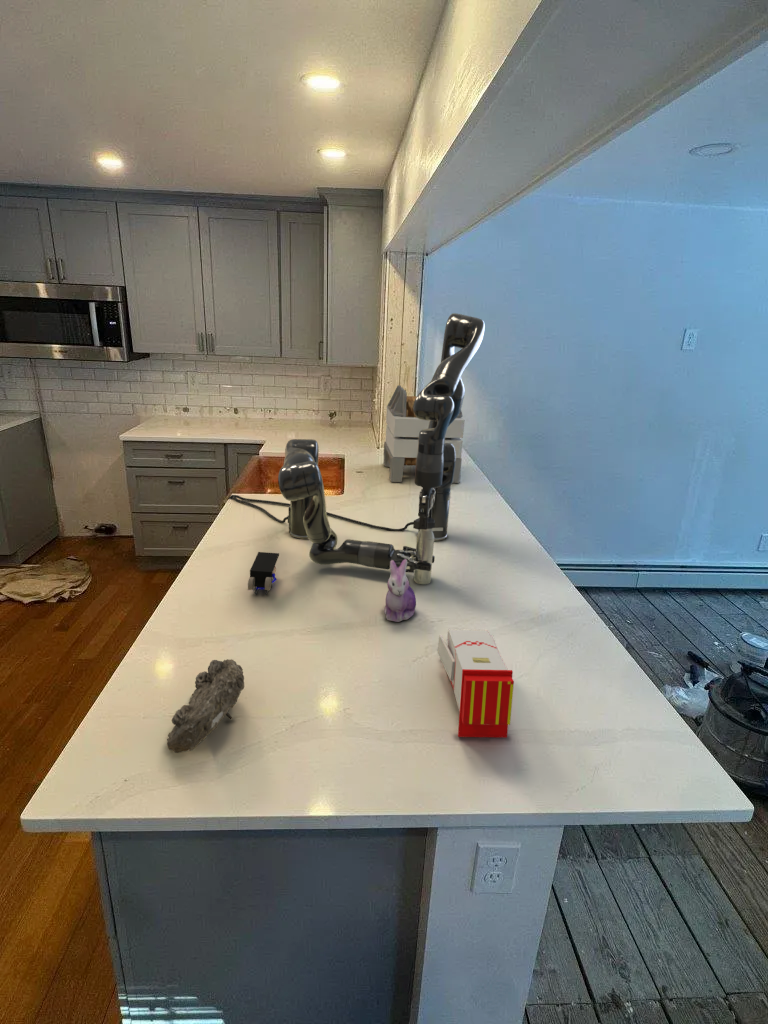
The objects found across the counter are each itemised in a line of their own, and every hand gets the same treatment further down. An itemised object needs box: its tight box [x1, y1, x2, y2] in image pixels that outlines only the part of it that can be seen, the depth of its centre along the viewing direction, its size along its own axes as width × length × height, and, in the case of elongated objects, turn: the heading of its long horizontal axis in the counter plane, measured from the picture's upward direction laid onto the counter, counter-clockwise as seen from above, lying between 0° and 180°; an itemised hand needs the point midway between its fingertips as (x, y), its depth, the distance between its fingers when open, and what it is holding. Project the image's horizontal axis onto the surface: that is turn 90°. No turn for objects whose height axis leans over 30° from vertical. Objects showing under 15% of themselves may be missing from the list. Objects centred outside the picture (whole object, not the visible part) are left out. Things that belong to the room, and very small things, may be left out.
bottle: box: [413, 529, 435, 585], centre depth 163 cm, size 5×5×18 cm
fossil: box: [166, 658, 245, 754], centre depth 106 cm, size 22×10×15 cm
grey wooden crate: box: [383, 384, 465, 484], centre depth 268 cm, size 34×33×41 cm
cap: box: [419, 517, 435, 529], centre depth 160 cm, size 4×4×2 cm
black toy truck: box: [247, 551, 280, 596], centre depth 158 cm, size 7×8×15 cm
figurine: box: [384, 559, 417, 623], centre depth 145 cm, size 9×10×15 cm
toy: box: [437, 628, 515, 738], centre depth 117 cm, size 12×13×30 cm
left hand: (432, 563), depth 164 cm, fingers closed on bottle, 5 cm apart
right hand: (425, 524), depth 160 cm, fingers open, 7 cm apart
